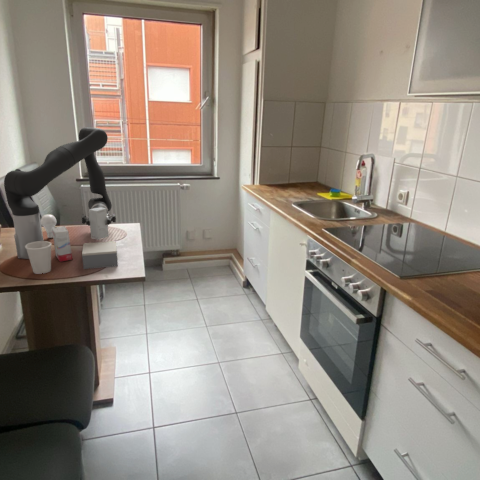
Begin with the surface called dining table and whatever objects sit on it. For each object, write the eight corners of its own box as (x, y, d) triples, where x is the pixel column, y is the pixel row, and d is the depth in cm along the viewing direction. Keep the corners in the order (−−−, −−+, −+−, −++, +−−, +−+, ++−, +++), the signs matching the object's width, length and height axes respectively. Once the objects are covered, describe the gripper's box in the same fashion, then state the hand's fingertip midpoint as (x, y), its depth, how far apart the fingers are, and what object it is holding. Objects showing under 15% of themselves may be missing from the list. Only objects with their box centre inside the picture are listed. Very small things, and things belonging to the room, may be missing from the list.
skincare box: (98, 240, 154) (96, 211, 150) (90, 238, 155) (87, 209, 152) (109, 236, 159) (107, 208, 155) (101, 234, 161) (98, 206, 157)
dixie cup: (35, 266, 140) (31, 240, 137) (58, 266, 141) (55, 240, 138) (24, 275, 132) (20, 248, 129) (49, 275, 133) (45, 248, 130)
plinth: (83, 269, 139) (81, 253, 137) (85, 257, 150) (83, 243, 148) (117, 266, 143) (116, 251, 141) (117, 255, 154) (115, 241, 152)
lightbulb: (39, 239, 170) (36, 215, 167) (50, 235, 176) (47, 212, 172) (51, 240, 168) (47, 216, 165) (61, 236, 174) (58, 213, 171)
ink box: (72, 260, 147) (69, 231, 144) (58, 262, 145) (55, 232, 141) (68, 253, 154) (65, 225, 150) (54, 255, 151) (51, 227, 148)
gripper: (81, 205, 165) (78, 214, 151) (115, 204, 170) (116, 213, 155) (82, 222, 168) (80, 232, 153) (116, 220, 172) (117, 230, 157)
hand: (98, 222), depth 154 cm, fingers closed on skincare box, 7 cm apart
